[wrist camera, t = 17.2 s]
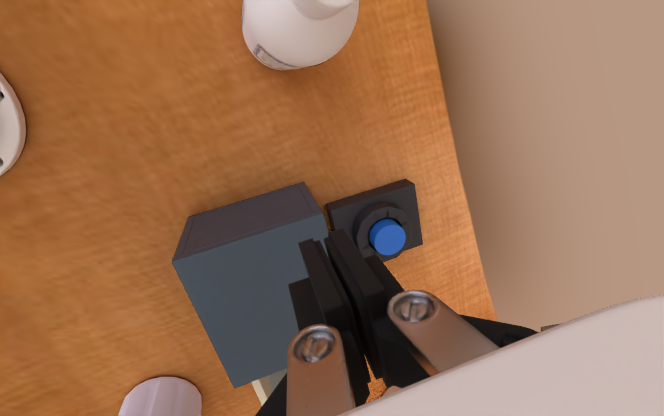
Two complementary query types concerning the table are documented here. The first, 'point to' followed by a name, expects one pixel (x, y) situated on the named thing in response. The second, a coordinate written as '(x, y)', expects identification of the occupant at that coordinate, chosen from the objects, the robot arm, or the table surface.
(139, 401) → the soap bottle
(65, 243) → the table surface
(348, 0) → the bath foam
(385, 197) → the panel
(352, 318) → the robot arm
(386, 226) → the button
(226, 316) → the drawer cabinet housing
